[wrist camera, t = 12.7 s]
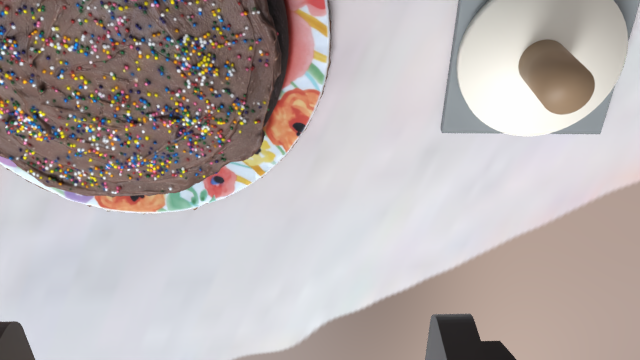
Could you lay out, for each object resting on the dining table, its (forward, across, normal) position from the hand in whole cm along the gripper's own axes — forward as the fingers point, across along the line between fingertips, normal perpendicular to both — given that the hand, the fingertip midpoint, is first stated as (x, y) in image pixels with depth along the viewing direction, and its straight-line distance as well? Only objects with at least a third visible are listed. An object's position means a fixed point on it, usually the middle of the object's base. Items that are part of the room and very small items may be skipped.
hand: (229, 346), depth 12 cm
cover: (+30, -17, +6) cm, 35 cm away
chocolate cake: (+31, +11, +5) cm, 33 cm away
